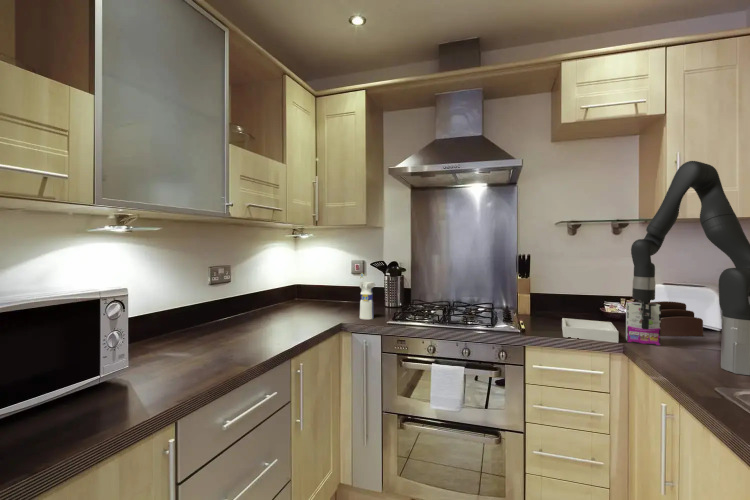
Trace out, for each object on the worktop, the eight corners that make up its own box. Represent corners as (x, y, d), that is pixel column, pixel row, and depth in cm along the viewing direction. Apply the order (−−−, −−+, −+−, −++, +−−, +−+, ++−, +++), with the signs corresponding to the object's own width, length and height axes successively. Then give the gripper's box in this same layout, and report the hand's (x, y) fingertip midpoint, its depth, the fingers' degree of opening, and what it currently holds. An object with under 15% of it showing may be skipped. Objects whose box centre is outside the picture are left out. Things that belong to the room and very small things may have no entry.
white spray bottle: (372, 320, 189) (373, 272, 189) (357, 319, 191) (357, 272, 191) (376, 316, 197) (376, 271, 197) (361, 316, 199) (361, 270, 199)
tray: (618, 342, 148) (618, 331, 148) (563, 337, 157) (563, 326, 157) (610, 331, 166) (611, 322, 166) (562, 327, 175) (562, 318, 175)
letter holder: (641, 330, 169) (642, 301, 169) (684, 331, 169) (684, 301, 169) (658, 336, 159) (659, 304, 159) (703, 336, 159) (704, 304, 159)
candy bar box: (657, 342, 148) (658, 303, 148) (660, 346, 144) (661, 305, 144) (624, 339, 154) (625, 301, 153) (626, 342, 149) (627, 302, 149)
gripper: (659, 290, 140) (658, 331, 141) (650, 286, 153) (649, 324, 154) (636, 289, 144) (635, 329, 144) (629, 285, 156) (628, 322, 157)
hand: (642, 326), depth 149 cm, fingers open, 8 cm apart
